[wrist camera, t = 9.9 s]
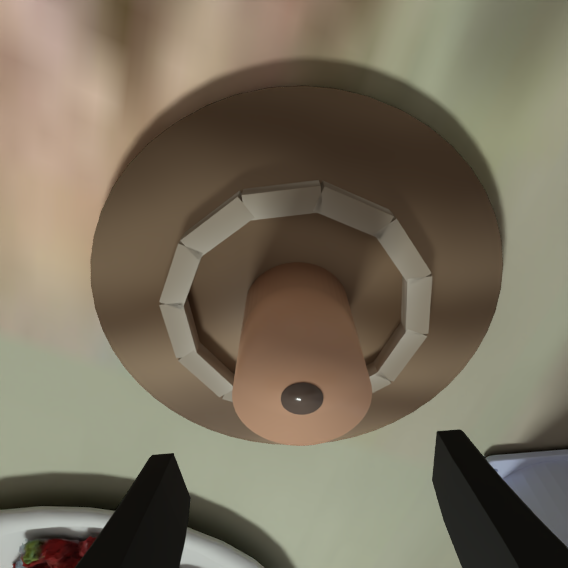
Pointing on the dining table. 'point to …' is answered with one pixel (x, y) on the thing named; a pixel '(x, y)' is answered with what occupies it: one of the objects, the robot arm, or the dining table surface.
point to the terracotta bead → (299, 358)
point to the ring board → (295, 246)
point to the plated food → (90, 540)
